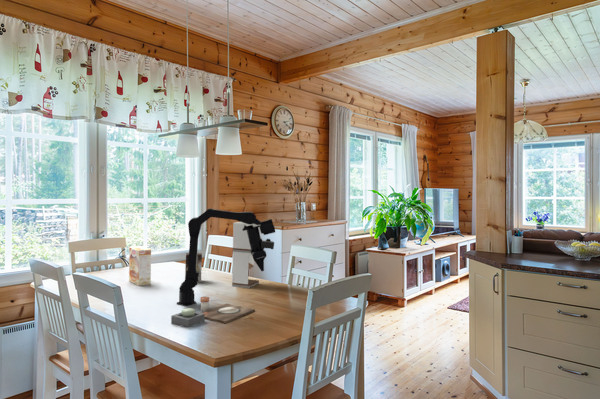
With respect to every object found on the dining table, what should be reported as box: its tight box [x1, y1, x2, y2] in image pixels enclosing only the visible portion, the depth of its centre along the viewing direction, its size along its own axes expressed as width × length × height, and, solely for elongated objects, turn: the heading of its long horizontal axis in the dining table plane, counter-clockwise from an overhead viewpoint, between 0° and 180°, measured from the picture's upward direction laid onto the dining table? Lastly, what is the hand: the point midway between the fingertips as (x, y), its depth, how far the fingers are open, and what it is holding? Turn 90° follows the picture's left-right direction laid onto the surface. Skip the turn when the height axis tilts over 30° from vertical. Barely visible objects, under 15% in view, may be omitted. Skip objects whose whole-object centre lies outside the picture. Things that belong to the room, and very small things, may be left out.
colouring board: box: [200, 303, 256, 324], centre depth 173 cm, size 16×20×1 cm
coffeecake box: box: [128, 245, 152, 287], centre depth 227 cm, size 15×7×20 cm, turn 42°
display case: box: [231, 221, 261, 289], centre depth 226 cm, size 11×11×35 cm
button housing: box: [170, 311, 206, 328], centre depth 161 cm, size 9×9×3 cm
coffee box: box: [184, 252, 203, 283], centre depth 232 cm, size 9×6×16 cm
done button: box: [181, 308, 196, 317], centre depth 161 cm, size 5×5×2 cm
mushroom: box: [200, 296, 210, 312], centre depth 178 cm, size 4×4×6 cm
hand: (261, 269), depth 193 cm, fingers open, 9 cm apart
